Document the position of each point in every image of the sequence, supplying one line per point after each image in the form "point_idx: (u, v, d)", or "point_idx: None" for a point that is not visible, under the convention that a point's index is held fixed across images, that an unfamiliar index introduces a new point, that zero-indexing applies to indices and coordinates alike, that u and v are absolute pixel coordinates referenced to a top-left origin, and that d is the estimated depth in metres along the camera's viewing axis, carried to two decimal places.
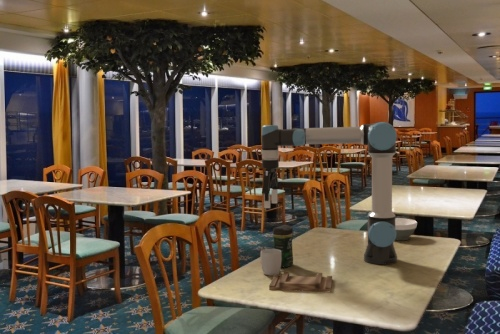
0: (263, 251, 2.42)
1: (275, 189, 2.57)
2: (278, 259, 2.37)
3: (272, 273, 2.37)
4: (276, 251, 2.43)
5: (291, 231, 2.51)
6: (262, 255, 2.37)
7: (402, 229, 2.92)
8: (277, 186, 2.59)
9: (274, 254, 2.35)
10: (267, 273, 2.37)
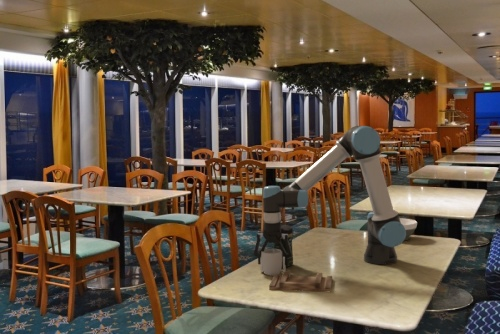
0: (264, 251, 2.42)
1: (283, 257, 2.40)
2: (279, 259, 2.36)
3: (273, 273, 2.37)
4: (277, 251, 2.43)
5: (291, 231, 2.51)
6: (263, 255, 2.37)
7: None
8: (288, 255, 2.39)
9: (275, 254, 2.35)
10: (268, 273, 2.37)
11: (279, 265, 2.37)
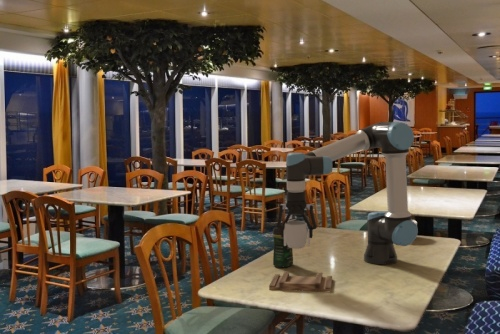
0: (287, 223, 2.26)
1: (308, 230, 2.24)
2: (304, 231, 2.20)
3: (297, 246, 2.20)
4: (301, 223, 2.26)
5: None
6: (286, 227, 2.21)
7: None
8: (313, 227, 2.23)
9: (300, 225, 2.19)
10: (292, 246, 2.21)
11: (304, 238, 2.21)
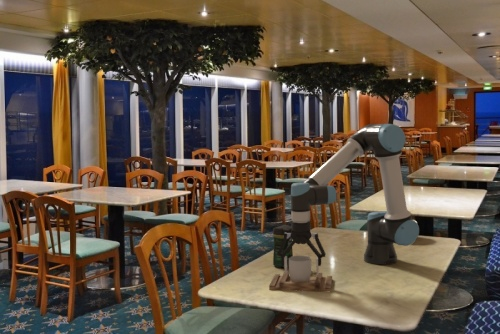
0: (291, 258, 2.25)
1: (317, 258, 2.22)
2: (308, 267, 2.19)
3: None
4: (305, 258, 2.25)
5: (291, 231, 2.51)
6: (291, 263, 2.20)
7: None
8: (322, 255, 2.21)
9: (304, 262, 2.18)
10: None
11: (308, 274, 2.19)
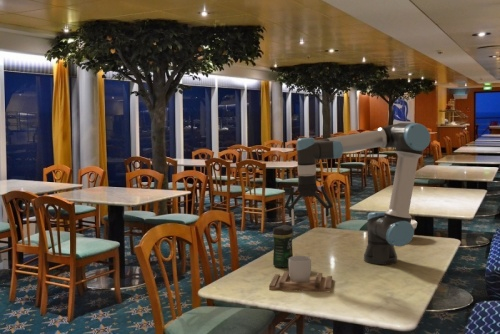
0: (291, 258, 2.25)
1: (324, 209, 2.31)
2: (308, 267, 2.19)
3: None
4: (305, 258, 2.25)
5: (291, 231, 2.51)
6: (290, 263, 2.20)
7: None
8: (329, 206, 2.30)
9: (303, 262, 2.18)
10: None
11: (308, 274, 2.19)
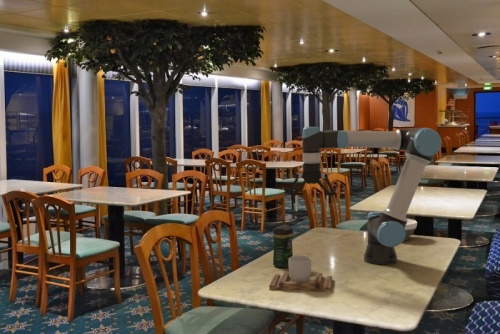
0: (291, 258, 2.25)
1: (327, 196, 2.39)
2: (308, 267, 2.19)
3: None
4: (305, 258, 2.25)
5: (291, 231, 2.51)
6: (290, 263, 2.20)
7: None
8: (332, 193, 2.38)
9: (303, 262, 2.18)
10: None
11: (308, 274, 2.19)
